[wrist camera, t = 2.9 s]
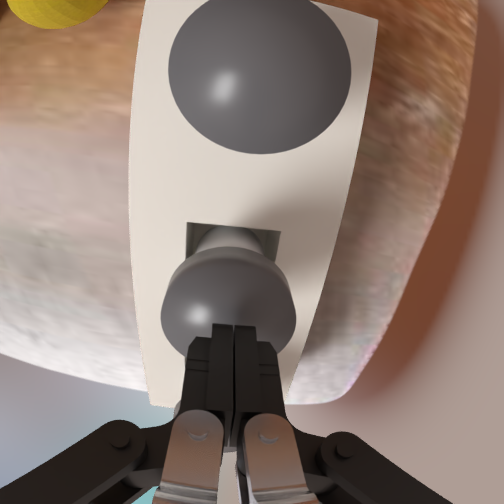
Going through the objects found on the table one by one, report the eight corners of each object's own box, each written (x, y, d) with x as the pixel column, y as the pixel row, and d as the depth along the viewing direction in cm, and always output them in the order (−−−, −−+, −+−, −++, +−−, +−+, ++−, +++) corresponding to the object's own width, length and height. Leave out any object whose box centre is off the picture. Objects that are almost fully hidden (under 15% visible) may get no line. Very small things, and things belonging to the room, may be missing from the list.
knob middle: (270, 298, 18) (282, 371, 13) (179, 291, 17) (163, 363, 13) (287, 214, 16) (310, 273, 11) (182, 204, 15) (158, 260, 10)
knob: (300, 140, 14) (335, 166, 9) (187, 127, 13) (160, 146, 8) (316, 36, 11) (361, 8, 7) (201, 21, 11) (182, -19, 6)
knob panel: (273, 367, 26) (279, 414, 22) (160, 359, 25) (150, 404, 21) (343, 36, 14) (378, 20, 10) (170, 13, 13) (148, -12, 9)
